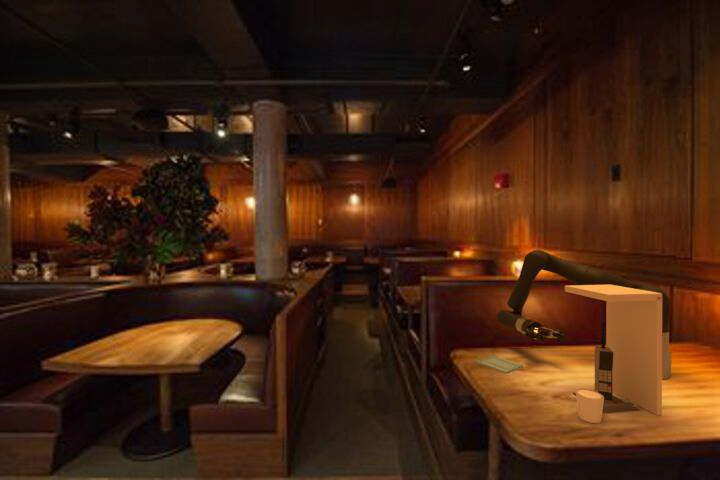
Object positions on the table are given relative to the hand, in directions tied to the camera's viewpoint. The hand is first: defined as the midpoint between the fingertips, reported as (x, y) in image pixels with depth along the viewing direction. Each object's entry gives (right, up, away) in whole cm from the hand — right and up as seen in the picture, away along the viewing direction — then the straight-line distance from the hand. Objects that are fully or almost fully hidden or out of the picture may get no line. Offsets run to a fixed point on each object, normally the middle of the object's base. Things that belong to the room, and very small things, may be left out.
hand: (554, 338), depth 130 cm
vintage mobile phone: (+2, -13, -23) cm, 27 cm away
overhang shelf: (+4, -13, -23) cm, 27 cm away
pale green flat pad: (-18, -14, +8) cm, 24 cm away
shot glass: (-8, -14, -33) cm, 36 cm away
